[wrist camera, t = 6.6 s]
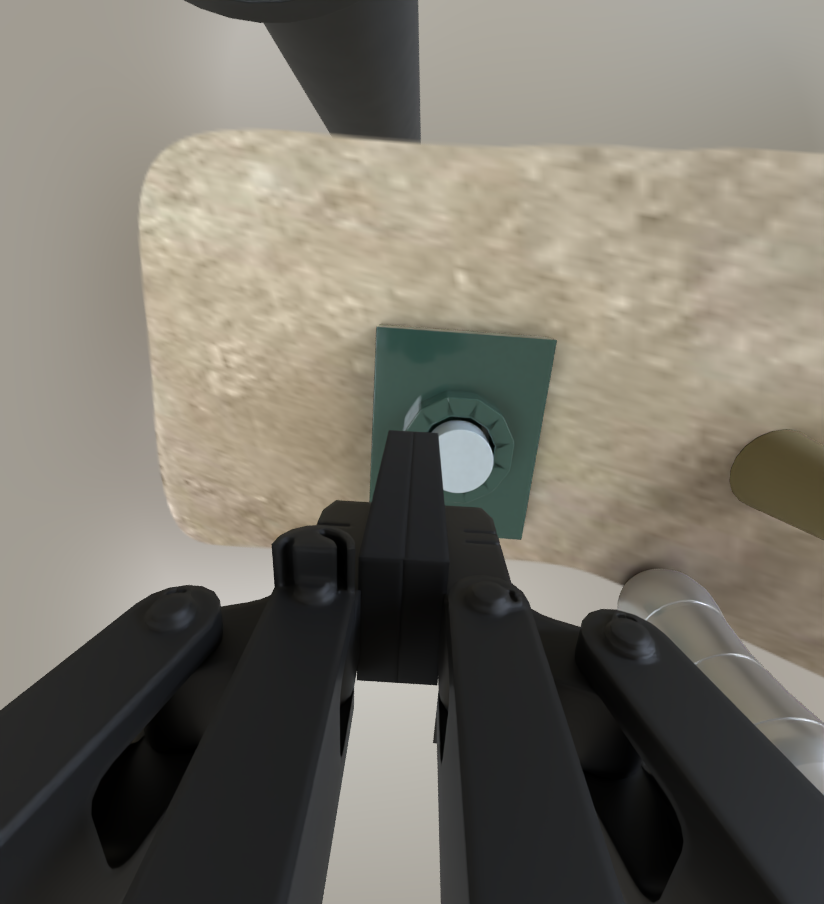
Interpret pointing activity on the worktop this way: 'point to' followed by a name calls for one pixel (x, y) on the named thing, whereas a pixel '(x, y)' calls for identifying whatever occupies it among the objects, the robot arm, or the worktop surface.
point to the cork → (783, 479)
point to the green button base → (467, 404)
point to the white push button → (463, 456)
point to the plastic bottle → (727, 663)
